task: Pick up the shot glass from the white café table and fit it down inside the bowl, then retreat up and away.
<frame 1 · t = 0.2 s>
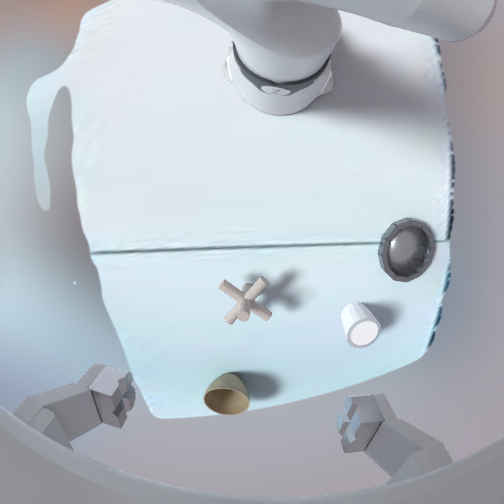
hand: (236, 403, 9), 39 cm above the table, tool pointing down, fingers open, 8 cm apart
bowl: (405, 249, 46), on the table
pipe connector: (247, 287, 50), on the table
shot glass: (353, 313, 51), on the table
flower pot: (229, 380, 58), on the table
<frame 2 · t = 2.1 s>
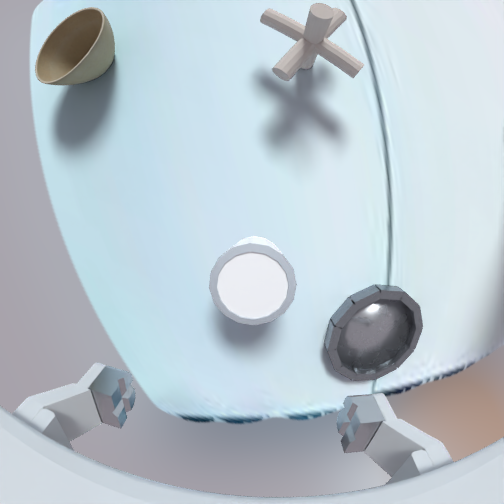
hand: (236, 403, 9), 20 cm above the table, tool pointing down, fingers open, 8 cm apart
bowl: (373, 332, 29), on the table
pipe connector: (304, 63, 23), on the table
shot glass: (254, 262, 28), on the table
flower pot: (98, 63, 23), on the table
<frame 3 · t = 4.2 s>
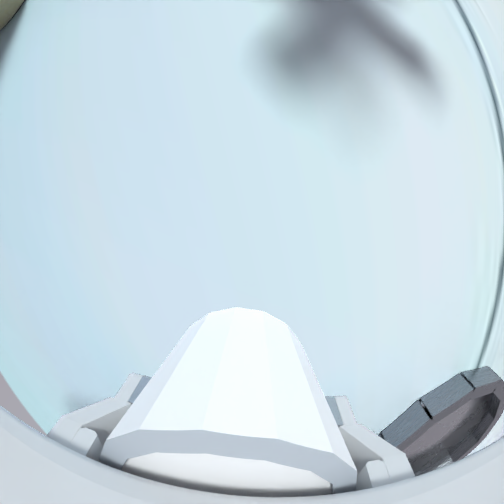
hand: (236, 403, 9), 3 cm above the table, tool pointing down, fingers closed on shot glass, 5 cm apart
bowl: (437, 432, 13), on the table
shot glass: (240, 361, 12), on the table, touching gripper
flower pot: (9, 12, 7), on the table
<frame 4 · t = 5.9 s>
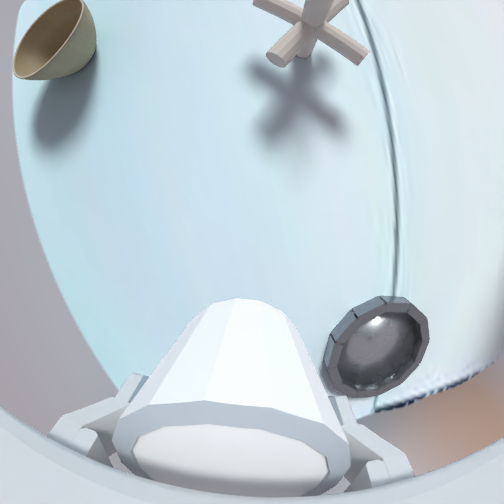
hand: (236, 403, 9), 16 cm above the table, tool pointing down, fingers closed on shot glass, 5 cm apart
bowl: (376, 346, 26), on the table
pipe connector: (301, 51, 20), on the table
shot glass: (242, 349, 12), point 13 cm above the table, touching gripper
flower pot: (79, 56, 20), on the table
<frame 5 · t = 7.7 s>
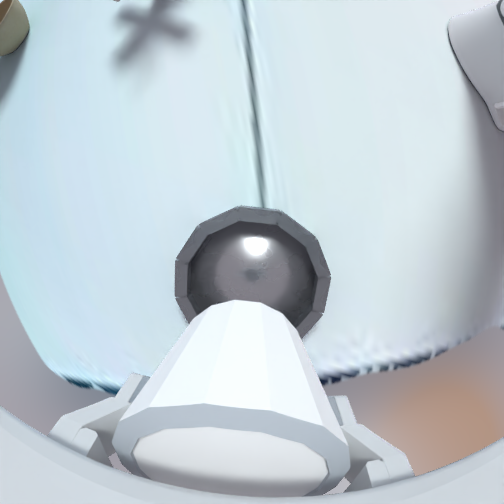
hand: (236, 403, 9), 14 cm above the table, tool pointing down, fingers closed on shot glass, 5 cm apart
bowl: (251, 280, 22), on the table
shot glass: (242, 351, 12), point 10 cm above the table, touching gripper
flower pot: (18, 39, 16), on the table
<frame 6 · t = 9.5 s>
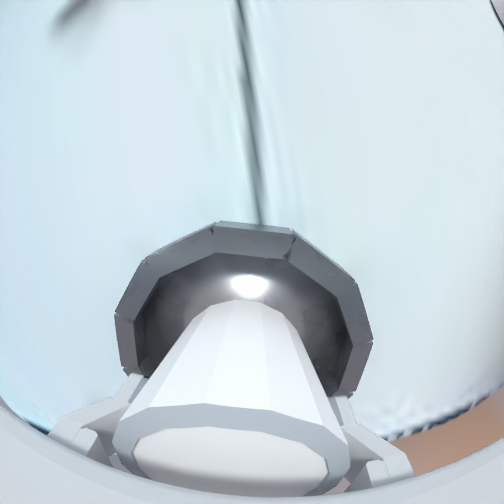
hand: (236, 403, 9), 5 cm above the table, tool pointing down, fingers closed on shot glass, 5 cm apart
bowl: (242, 343, 13), on the table
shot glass: (241, 351, 12), point 1 cm above the table, touching gripper
when the fingers open (5 cm above the table, at t = 10.3 s): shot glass stays where it is, resting on bowl.
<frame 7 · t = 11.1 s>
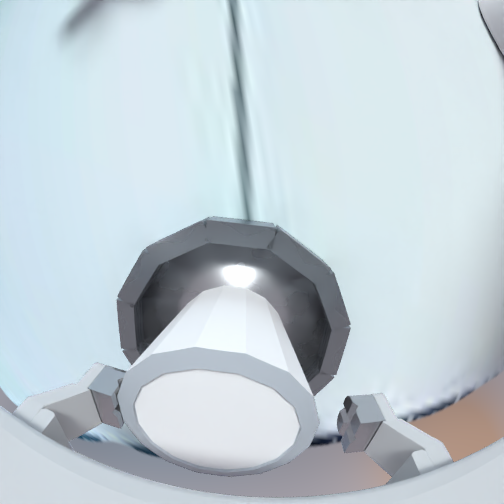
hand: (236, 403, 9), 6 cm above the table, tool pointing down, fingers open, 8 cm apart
bowl: (231, 328, 15), on the table
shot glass: (230, 332, 14), resting on bowl, touching gripper
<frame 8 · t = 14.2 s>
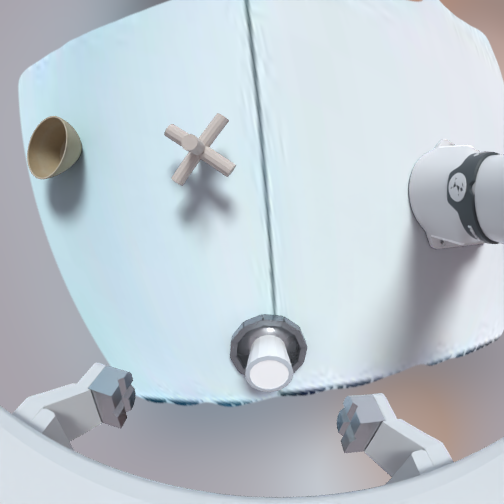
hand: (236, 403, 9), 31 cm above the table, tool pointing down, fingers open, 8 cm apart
bowl: (268, 347, 43), on the table
pipe connector: (207, 154, 37), on the table
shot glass: (268, 348, 42), resting on bowl
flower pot: (71, 150, 37), on the table
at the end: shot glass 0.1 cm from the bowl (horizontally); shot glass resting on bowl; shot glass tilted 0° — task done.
